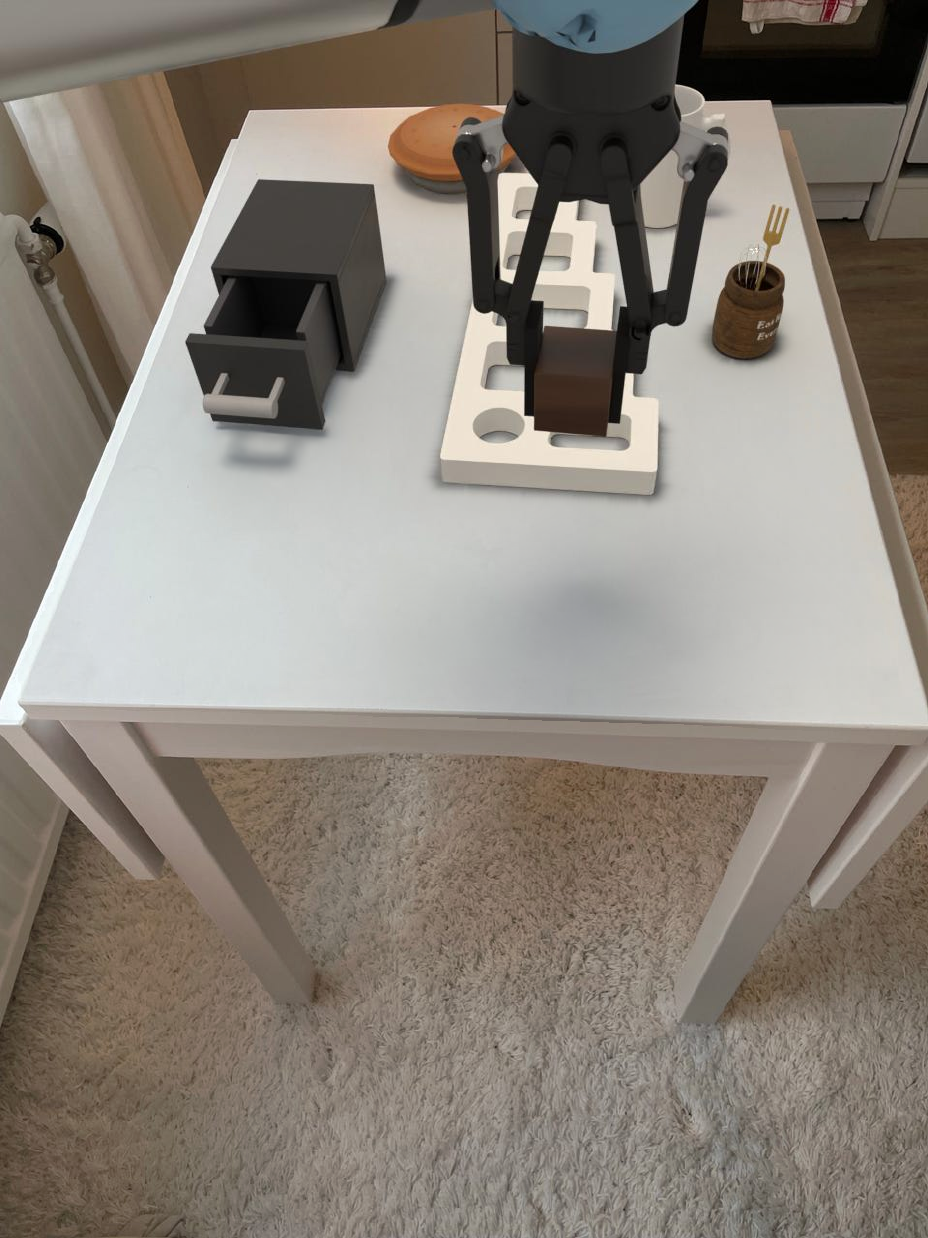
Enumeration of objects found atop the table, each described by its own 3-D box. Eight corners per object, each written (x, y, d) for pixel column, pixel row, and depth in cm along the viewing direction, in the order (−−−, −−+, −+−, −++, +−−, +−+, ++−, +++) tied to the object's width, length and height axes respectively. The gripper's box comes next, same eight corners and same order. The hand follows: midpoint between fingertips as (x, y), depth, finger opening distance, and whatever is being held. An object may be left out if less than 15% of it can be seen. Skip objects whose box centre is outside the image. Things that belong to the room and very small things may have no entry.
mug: (620, 226, 103) (631, 114, 94) (629, 193, 107) (640, 81, 97) (715, 235, 101) (735, 121, 92) (720, 201, 105) (740, 88, 96)
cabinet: (354, 371, 91) (336, 273, 83) (238, 363, 93) (210, 266, 84) (386, 280, 100) (373, 183, 91) (280, 274, 101) (258, 178, 93)
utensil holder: (700, 349, 90) (722, 234, 81) (725, 313, 94) (748, 197, 84) (760, 368, 89) (789, 252, 79) (783, 330, 92) (814, 213, 82)
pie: (525, 134, 116) (526, 92, 112) (519, 205, 107) (519, 161, 103) (400, 135, 117) (395, 93, 113) (383, 205, 108) (378, 162, 104)
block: (606, 437, 58) (612, 378, 55) (533, 430, 59) (534, 372, 55) (612, 388, 61) (618, 330, 57) (542, 383, 62) (544, 324, 58)
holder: (499, 195, 108) (499, 172, 106) (660, 199, 106) (663, 176, 104) (441, 482, 82) (439, 459, 80) (653, 495, 80) (657, 472, 78)
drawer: (309, 465, 83) (289, 385, 76) (196, 455, 84) (166, 376, 77) (357, 335, 93) (343, 254, 86) (255, 328, 94) (233, 248, 87)
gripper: (806, -44, 42) (717, 377, 61) (418, -50, 45) (448, 356, 63) (812, 31, 38) (714, 459, 57) (382, 20, 40) (425, 434, 59)
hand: (574, 404), depth 60 cm, fingers closed on block, 4 cm apart
